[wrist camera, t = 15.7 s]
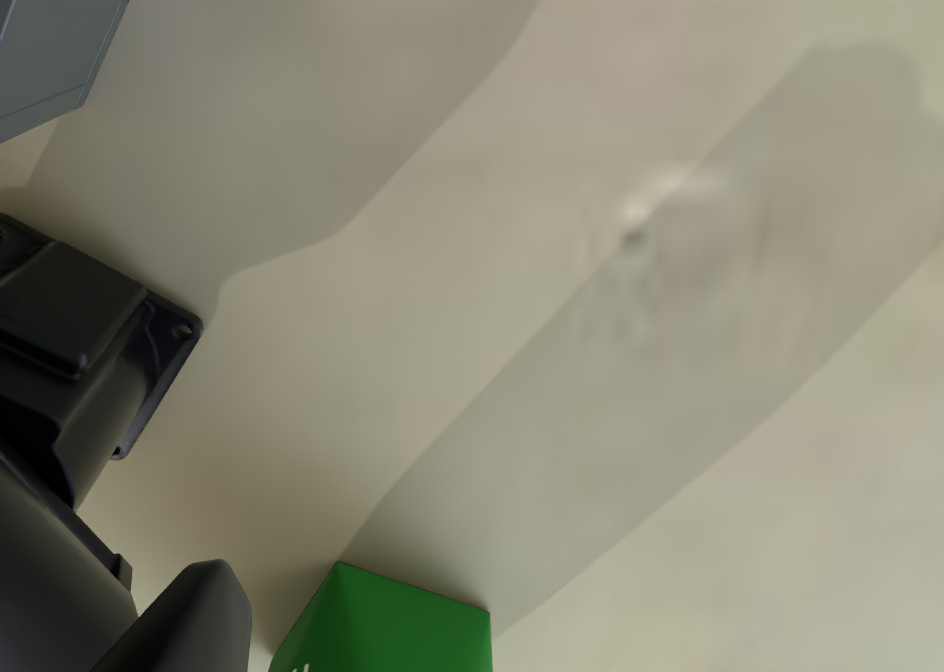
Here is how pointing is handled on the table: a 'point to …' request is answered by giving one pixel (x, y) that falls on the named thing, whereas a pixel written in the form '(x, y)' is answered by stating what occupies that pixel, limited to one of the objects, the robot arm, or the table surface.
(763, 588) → the table surface
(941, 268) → the table surface
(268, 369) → the table surface
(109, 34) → the open storage bin
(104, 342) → the robot arm
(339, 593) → the milk carton
